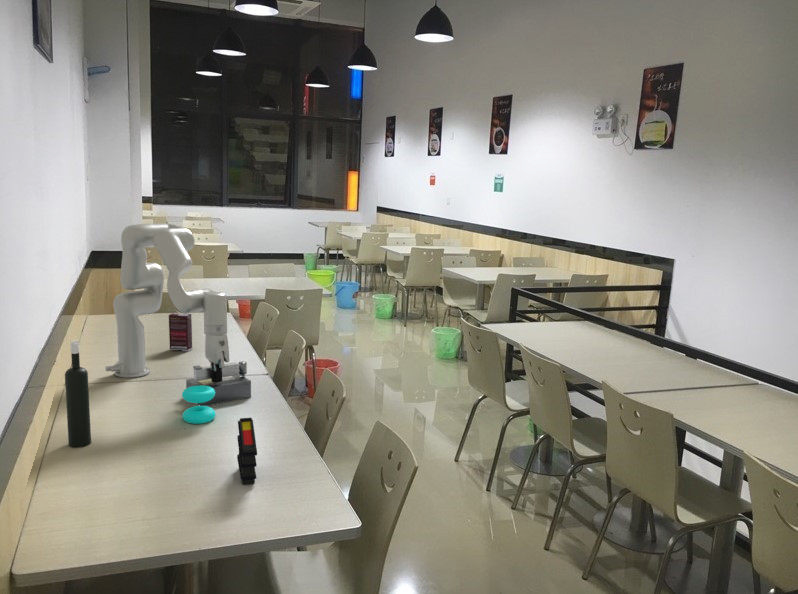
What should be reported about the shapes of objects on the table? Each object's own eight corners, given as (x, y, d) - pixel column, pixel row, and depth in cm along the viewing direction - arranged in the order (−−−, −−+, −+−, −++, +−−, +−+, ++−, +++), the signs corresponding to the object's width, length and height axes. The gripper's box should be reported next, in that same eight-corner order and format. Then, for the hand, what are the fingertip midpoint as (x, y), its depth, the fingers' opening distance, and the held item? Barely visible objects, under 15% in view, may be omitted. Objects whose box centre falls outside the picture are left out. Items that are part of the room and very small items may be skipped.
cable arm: (244, 371, 239) (244, 359, 238) (248, 374, 236) (248, 361, 235) (193, 379, 228) (193, 366, 228) (196, 381, 226) (196, 368, 225)
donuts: (216, 392, 206) (182, 395, 203) (217, 423, 208) (183, 426, 204) (213, 383, 215) (181, 385, 212) (214, 412, 217) (181, 415, 214)
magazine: (250, 455, 181) (252, 416, 173) (255, 495, 171) (258, 455, 163) (236, 456, 180) (238, 417, 172) (240, 496, 170) (242, 457, 161)
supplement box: (192, 349, 293) (192, 313, 290) (188, 351, 288) (187, 315, 286) (173, 347, 294) (172, 312, 291) (169, 350, 289) (168, 314, 286)
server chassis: (201, 406, 222) (201, 387, 221) (186, 396, 232) (186, 377, 231) (256, 396, 234) (256, 378, 233) (240, 386, 244) (240, 369, 243)
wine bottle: (66, 448, 186) (61, 343, 180) (70, 440, 191) (65, 338, 186) (89, 446, 187) (84, 343, 182) (92, 438, 193) (87, 338, 187)
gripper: (235, 331, 221) (236, 385, 224) (217, 323, 232) (218, 374, 236) (214, 334, 216) (215, 388, 219) (196, 326, 228) (197, 377, 231)
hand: (216, 381), depth 227 cm, fingers closed
